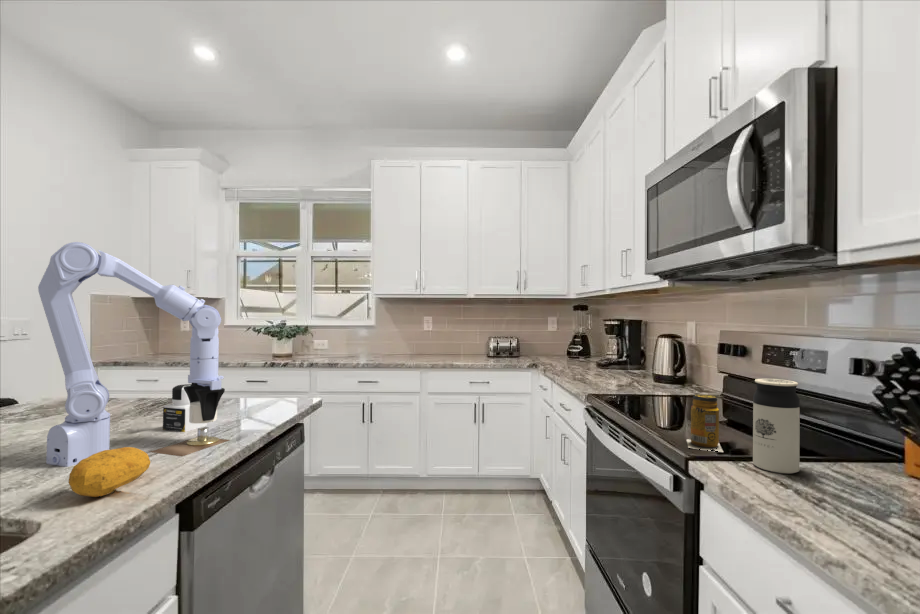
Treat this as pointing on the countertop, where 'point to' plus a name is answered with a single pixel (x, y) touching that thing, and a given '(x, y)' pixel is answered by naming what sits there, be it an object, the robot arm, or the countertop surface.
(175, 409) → the medicine bottle
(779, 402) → the travel mug
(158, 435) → the countertop surface
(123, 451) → the potato
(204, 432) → the knob
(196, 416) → the cap
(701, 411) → the condiment
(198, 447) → the board
